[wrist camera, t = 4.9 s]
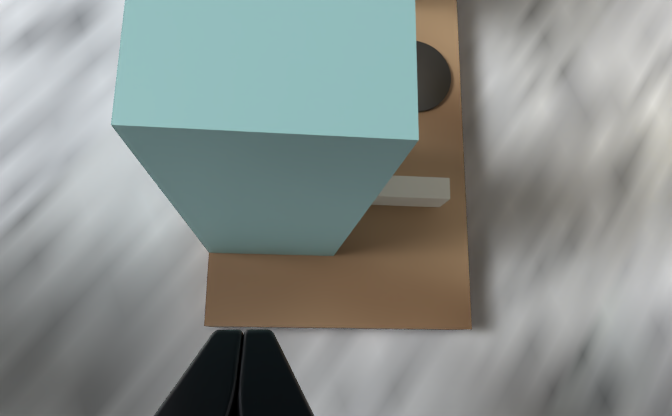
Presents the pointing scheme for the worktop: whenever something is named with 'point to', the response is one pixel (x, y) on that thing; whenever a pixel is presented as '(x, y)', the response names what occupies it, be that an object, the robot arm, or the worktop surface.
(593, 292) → the worktop surface
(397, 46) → the block
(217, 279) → the board
